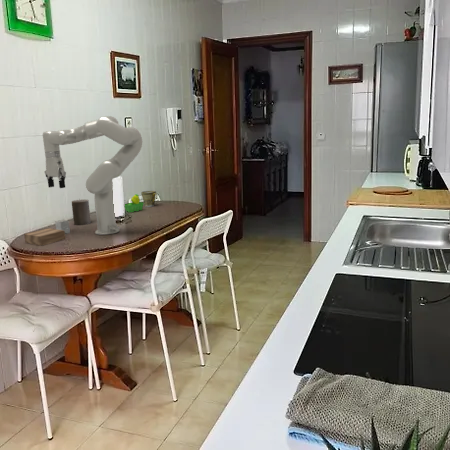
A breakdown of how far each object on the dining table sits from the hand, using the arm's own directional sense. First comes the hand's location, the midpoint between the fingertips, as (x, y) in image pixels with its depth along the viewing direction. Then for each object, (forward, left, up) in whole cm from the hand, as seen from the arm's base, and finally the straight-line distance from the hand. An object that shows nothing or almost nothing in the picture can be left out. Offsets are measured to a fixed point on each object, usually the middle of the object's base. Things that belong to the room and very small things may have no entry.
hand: (56, 187), depth 263 cm
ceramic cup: (+12, -79, -25) cm, 84 cm away
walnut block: (-6, +15, -26) cm, 30 cm away
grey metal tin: (0, 0, -25) cm, 25 cm away
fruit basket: (+10, -62, -25) cm, 68 cm away
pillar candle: (+12, -22, -25) cm, 36 cm away
